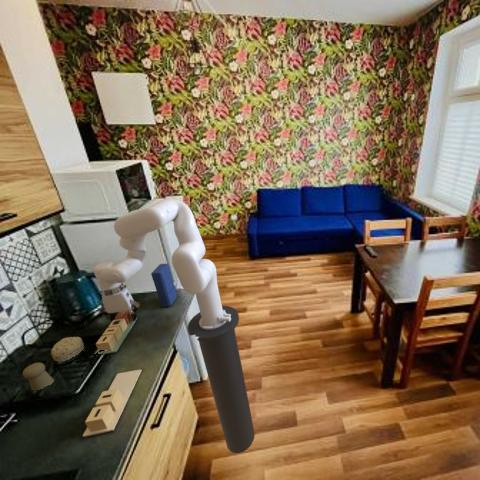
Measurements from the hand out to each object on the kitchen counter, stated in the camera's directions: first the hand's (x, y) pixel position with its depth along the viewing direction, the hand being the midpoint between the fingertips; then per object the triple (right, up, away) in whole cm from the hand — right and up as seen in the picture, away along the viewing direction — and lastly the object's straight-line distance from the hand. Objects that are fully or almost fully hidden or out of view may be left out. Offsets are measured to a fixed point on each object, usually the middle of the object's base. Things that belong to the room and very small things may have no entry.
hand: (125, 320), depth 124 cm
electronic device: (+12, +5, +15) cm, 20 cm away
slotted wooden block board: (+22, -16, -35) cm, 44 cm away
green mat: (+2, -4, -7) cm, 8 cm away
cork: (-5, -15, -31) cm, 35 cm away
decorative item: (-9, -9, -17) cm, 21 cm away
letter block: (0, -1, 0) cm, 1 cm away
